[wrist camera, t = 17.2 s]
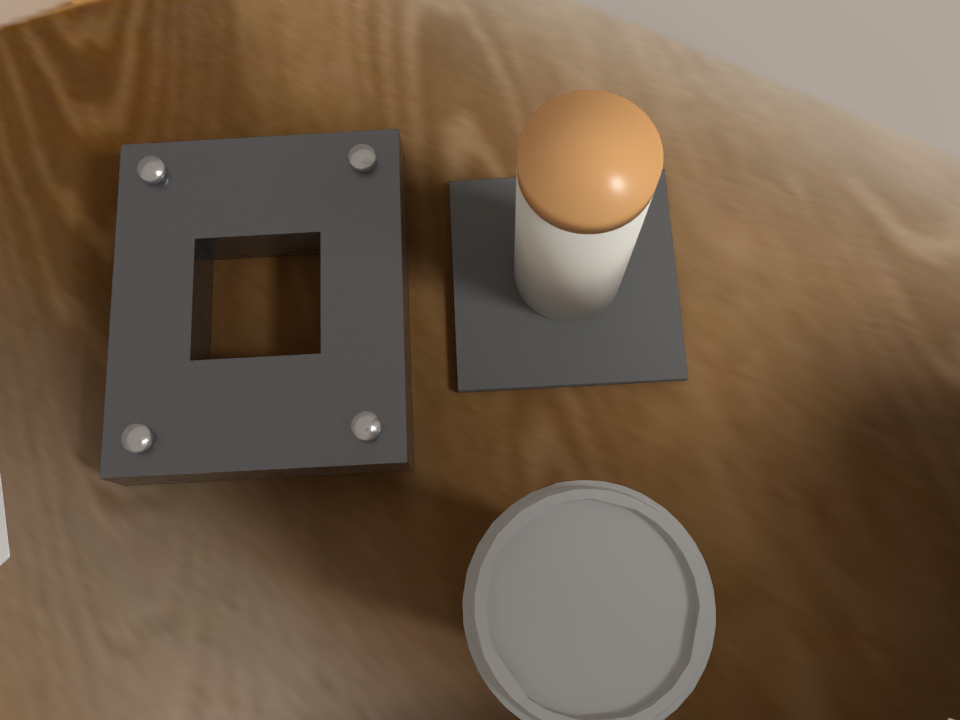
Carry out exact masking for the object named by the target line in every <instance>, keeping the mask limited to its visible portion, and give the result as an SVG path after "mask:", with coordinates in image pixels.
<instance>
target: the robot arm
mask: <svg viewBox="0 0 960 720" xmlns="http://www.w3.org/2000/svg"><path fill="white" fill-rule="evenodd" d="M9 557H10V552H9V543H8V535H7V526H6V518H5V509H4V501H3V492H2V484H1V475H0V566H1V565H2V564H3V563H4V562H5V561H6V560H7V559H8V558H9ZM947 720H954V719H951V718H948V719H947Z"/></svg>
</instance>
